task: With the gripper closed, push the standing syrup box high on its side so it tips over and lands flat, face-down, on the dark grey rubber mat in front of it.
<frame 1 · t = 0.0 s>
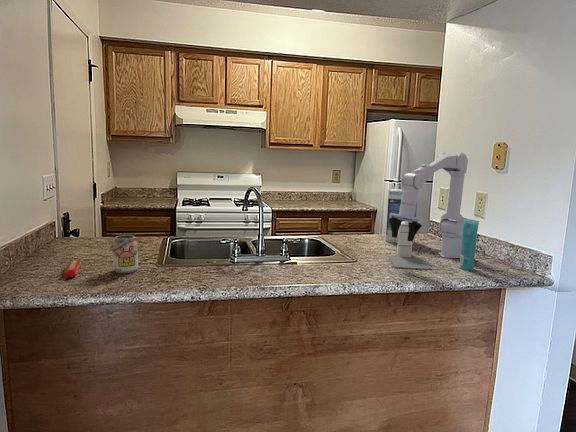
hand: (401, 239, 155), 11 cm above the countertop, tool pointing down, fingers open, 7 cm apart
mat: (409, 263, 161), on the countertop
syrup box: (403, 256, 172), on the countertop
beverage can: (124, 271, 141), on the countertop
string lights box: (399, 242, 200), on the countertop
candy bar: (72, 273, 138), on the countertop
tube: (466, 268, 156), on the countertop
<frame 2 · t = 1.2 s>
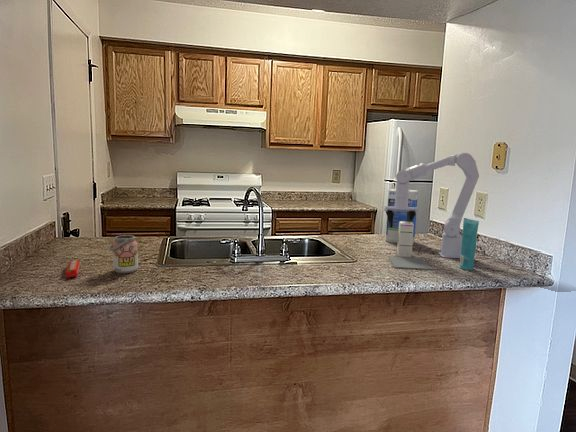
hand: (399, 227, 181), 10 cm above the countertop, tool pointing down, fingers open, 7 cm apart
nothing on the countertop moved.
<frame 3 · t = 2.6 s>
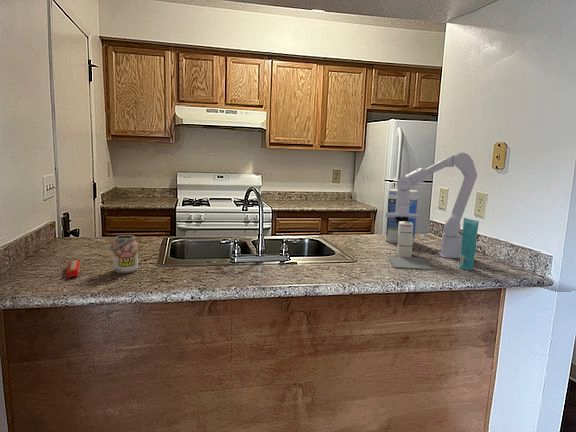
hand: (400, 233, 182), 7 cm above the countertop, tool pointing down, fingers closed
nothing on the countertop moved.
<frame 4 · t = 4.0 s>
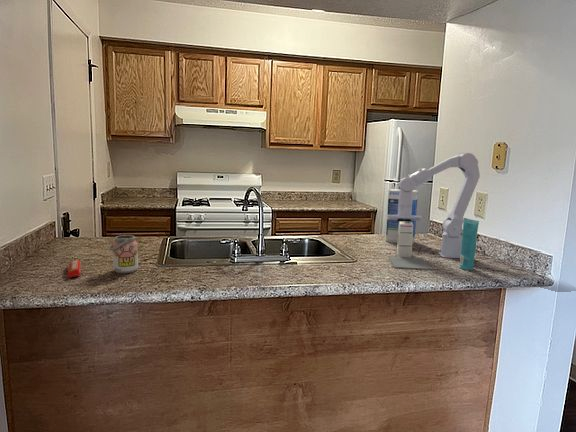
hand: (402, 236, 176), 7 cm above the countertop, tool pointing down, fingers closed
syrup box: (403, 256, 172), on the countertop, touching gripper
everything else where it was.
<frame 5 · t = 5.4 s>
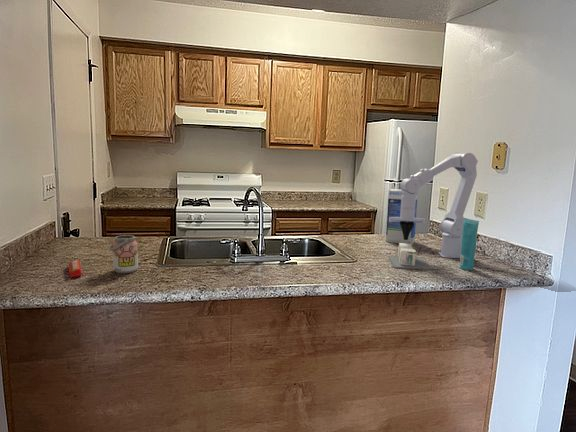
hand: (405, 239, 170), 7 cm above the countertop, tool pointing down, fingers closed
syrup box: (404, 249, 169), point 3 cm above the countertop, touching mat
everything else where it was.
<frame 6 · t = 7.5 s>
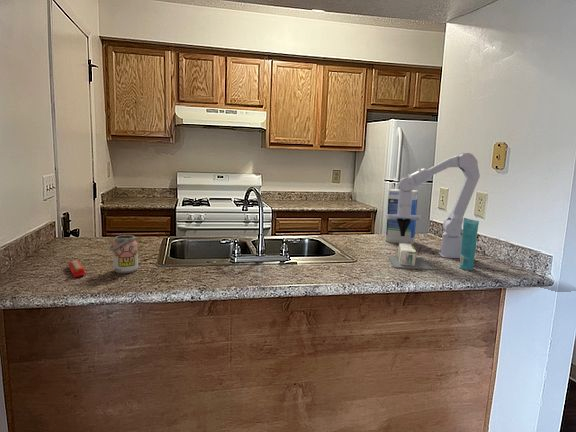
hand: (402, 235, 177), 7 cm above the countertop, tool pointing down, fingers closed
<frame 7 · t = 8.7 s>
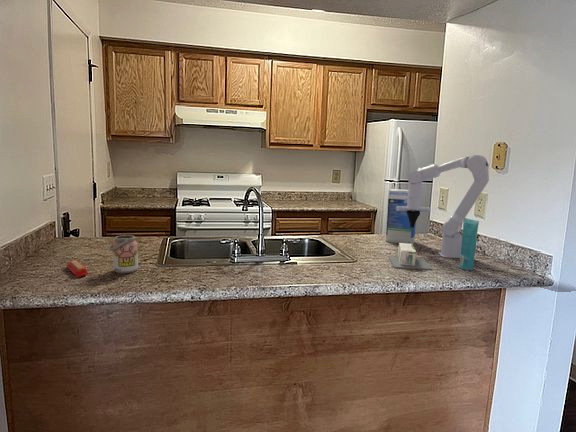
hand: (412, 227, 182), 10 cm above the countertop, tool pointing down, fingers closed
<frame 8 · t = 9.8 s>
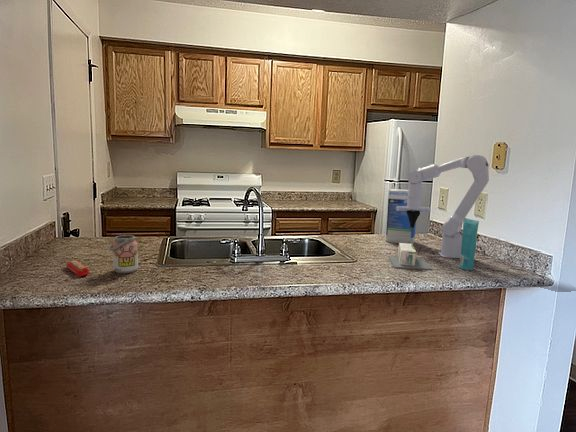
hand: (412, 227, 182), 10 cm above the countertop, tool pointing down, fingers closed
at the end: syrup box tilted 90°; syrup box inside the target area (6.5 cm from its centre), point 3.3 cm above the countertop; the gripper is holding nothing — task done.
